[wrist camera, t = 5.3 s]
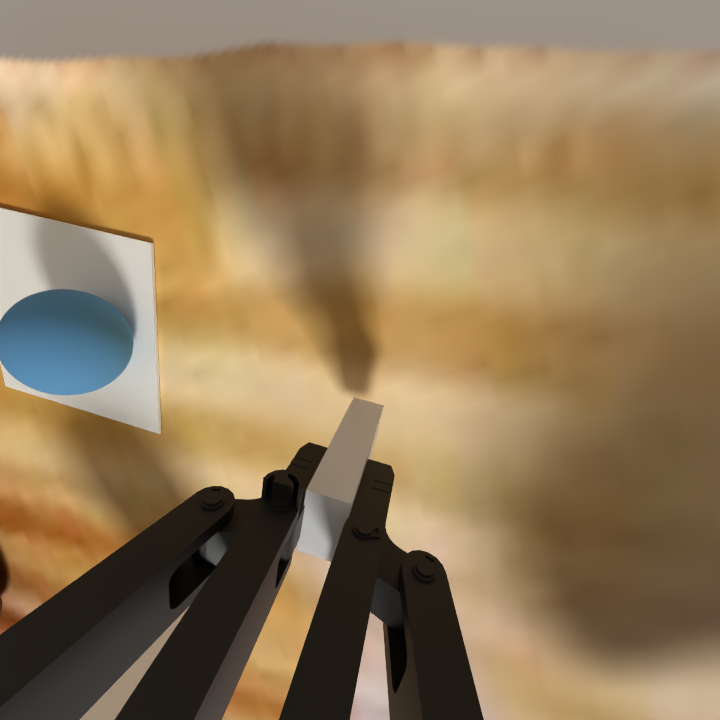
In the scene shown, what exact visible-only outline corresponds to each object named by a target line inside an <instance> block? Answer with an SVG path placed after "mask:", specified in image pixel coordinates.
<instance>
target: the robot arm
mask: <svg viewBox="0 0 720 720" xmlns="http://www.w3.org/2000/svg"><path fill="white" fill-rule="evenodd" d="M383 407H384V405H380V404H376V403H373V402H369V401H366V400H362V399H358V398H355V397H354V398H353V400H352V402H351V404H350V406H349V408H348V410H347V412H346V414H345V416H344V418H343V419H342V421H341V423H340V425H339V427H338V429H337V431H336V433H335V435H334V437H333V439H332V441H331V443H330V445H329V447H328V448H326V447H323V446H320V445H316V444H313V443H310V442H309V443H307V444H306V445H304V446H303V447H301V448H300V449H299V450H298V452H297V454H296V455H295V457H294V458H293V460H292V461H291V463H290V465H289V466H288V468H287V469H286V470H276V471H273V472H271V473H268V474H267V475H266V476H265V477H264V478H263V488H262V498H258V499H251V500H244V499H235V498H234V495H233V493H232V492H231V491H230V490H229V489H227V488H224V487H222V486H212V487H207V488H204V489H202V490H200V491H198V492H197V493H195V494H194V495H193V496H191V497H190V498H188V499H187V500H186V501H184V502H183V503H182V504H180V505H179V506H177V507H176V508H175V509H173V510H172V511H171V512H169V513H168V514H166V515H165V516H164V517H162V518H161V519H159V520H158V521H157V522H155V523H154V524H153V525H151V526H150V527H148V528H147V529H146V530H144V531H143V532H142V533H140V534H139V535H137V536H136V537H135V538H133V539H132V540H130V541H129V542H128V543H126V544H125V545H124V546H122V547H121V548H119V549H118V550H117V551H115V552H114V553H112V554H111V555H110V556H108V557H107V558H106V559H104V560H103V561H101V562H100V563H99V564H97V565H96V566H95V567H93V568H92V569H90V570H89V571H88V572H86V573H85V574H83V575H82V576H81V577H79V578H78V579H77V580H75V581H74V582H72V583H71V584H70V585H68V586H67V587H65V588H64V589H63V590H61V591H60V592H59V593H57V594H56V595H54V596H53V597H52V598H50V599H49V600H48V601H46V602H45V603H43V604H42V605H41V606H39V607H38V608H36V609H35V610H34V611H32V612H31V613H30V614H28V615H27V616H25V617H24V618H23V619H21V620H20V621H19V622H17V623H16V624H14V625H13V626H12V627H10V628H9V629H7V630H6V631H5V632H3V633H2V634H1V635H0V720H80V719H81V718H82V717H83V716H84V714H85V713H86V712H87V711H88V710H89V709H90V708H91V707H92V706H93V705H94V704H95V703H96V702H97V701H98V700H99V699H100V698H101V697H102V696H103V695H104V694H105V693H106V692H107V691H108V690H109V689H110V688H111V687H112V686H113V684H114V683H115V682H116V681H117V680H118V679H119V678H120V677H121V676H122V675H123V674H124V673H125V672H126V671H127V670H128V669H129V668H130V667H131V666H132V665H133V664H134V663H135V662H136V661H137V660H138V659H139V658H140V657H141V656H142V654H143V653H144V652H145V651H146V650H147V649H148V648H149V647H150V646H151V645H152V644H153V643H154V642H155V641H156V640H157V639H158V638H159V637H160V636H161V635H162V634H163V633H164V632H165V631H166V630H167V629H168V628H169V627H170V626H171V624H172V623H173V622H174V621H175V620H176V619H177V618H178V617H179V616H180V615H181V614H182V613H183V612H184V611H185V610H186V609H187V608H188V607H189V608H188V609H187V611H186V612H185V614H184V615H183V617H182V618H181V620H180V621H179V623H178V624H177V626H176V627H175V629H174V631H173V632H172V634H171V635H170V637H169V638H168V640H167V641H166V643H165V644H164V646H163V647H162V649H161V650H160V652H159V653H158V655H157V656H156V658H155V659H154V661H153V662H152V664H151V665H150V667H149V668H148V670H147V671H146V673H145V674H144V676H143V677H142V679H141V680H140V682H139V683H138V685H137V686H136V688H135V689H134V691H133V692H132V694H131V695H130V697H129V699H128V700H127V702H126V703H125V705H124V706H123V708H122V709H121V711H120V712H119V714H118V715H117V717H116V718H115V720H222V717H223V715H224V713H225V711H226V708H227V706H228V704H229V702H230V699H231V697H232V695H233V693H234V690H235V688H236V686H237V684H238V681H239V679H240V677H241V675H242V672H243V670H244V668H245V666H246V663H247V661H248V659H249V657H250V654H251V652H252V650H253V648H254V645H255V643H256V641H257V639H258V636H259V634H260V632H261V630H262V627H263V625H264V623H265V621H266V618H267V616H268V614H269V612H270V609H271V607H272V605H273V603H274V600H275V598H276V596H277V594H278V591H279V589H280V587H281V585H282V582H283V580H284V578H285V576H286V573H287V571H288V569H289V567H290V564H291V560H292V554H293V551H294V549H295V547H296V545H297V550H298V551H301V552H304V553H307V554H310V555H313V556H316V557H319V558H322V559H325V560H328V561H330V562H331V565H330V568H329V571H328V574H327V577H326V580H325V583H324V586H323V589H322V592H321V595H320V598H319V601H318V604H317V607H316V610H315V613H314V616H313V619H312V622H311V625H310V628H309V631H308V634H307V637H306V640H305V643H304V646H303V649H302V652H301V655H300V658H299V661H298V664H297V667H296V670H295V673H294V676H293V679H292V682H291V685H290V688H289V691H288V694H287V697H286V700H285V703H284V706H283V709H282V712H281V715H280V718H279V720H350V715H351V709H352V704H353V699H354V693H355V688H356V683H357V678H358V672H359V667H360V662H361V656H362V651H363V646H364V641H365V635H366V630H367V625H368V620H369V614H370V612H371V613H372V614H374V615H375V616H376V617H378V618H379V619H380V620H381V621H383V630H384V643H385V657H386V671H387V684H388V698H389V711H390V720H484V719H483V716H482V712H481V708H480V704H479V700H478V696H477V692H476V688H475V684H474V680H473V677H472V673H471V669H470V665H469V661H468V657H467V653H466V649H465V645H464V641H463V637H462V634H461V630H460V626H459V622H458V618H457V614H456V610H455V606H454V602H453V598H452V595H451V591H450V587H449V583H448V579H447V575H446V572H445V570H444V567H443V565H442V564H441V563H440V561H439V560H438V559H437V558H436V557H434V556H433V555H431V554H430V553H428V552H425V551H421V550H416V551H411V552H409V553H406V552H405V551H403V550H402V549H400V548H399V547H397V546H396V545H395V544H394V543H393V542H392V541H391V540H390V538H389V537H388V535H387V532H386V528H385V525H386V518H387V513H388V507H389V502H390V497H391V492H392V486H393V481H394V476H395V475H394V473H393V470H392V467H391V466H390V465H387V464H383V463H380V462H377V461H373V460H370V458H371V455H372V452H373V448H374V443H375V439H376V435H377V431H378V427H379V423H380V419H381V415H382V411H383ZM297 542H298V544H297Z"/></svg>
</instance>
